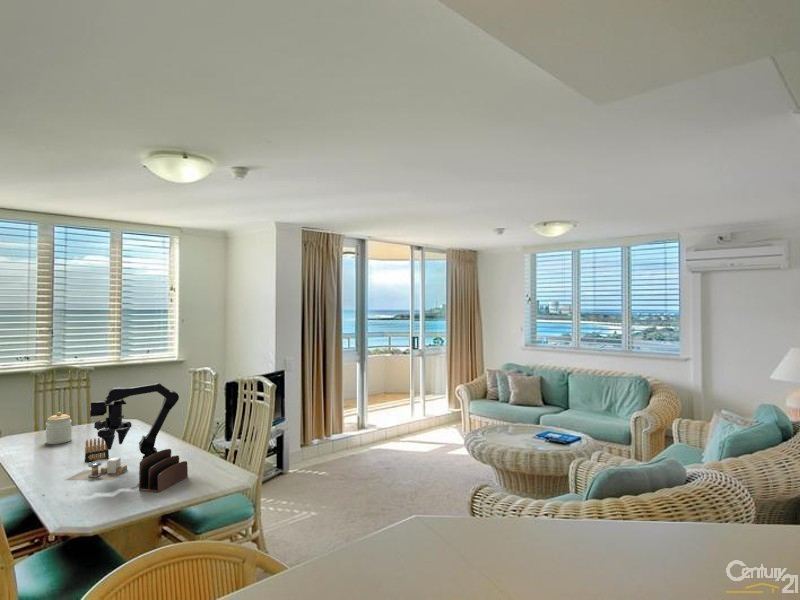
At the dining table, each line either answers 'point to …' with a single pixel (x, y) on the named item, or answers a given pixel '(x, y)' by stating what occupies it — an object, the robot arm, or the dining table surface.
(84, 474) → the board
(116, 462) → the white block
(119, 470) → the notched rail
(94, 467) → the bobbin
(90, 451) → the ammunition clip
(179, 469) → the letter holder
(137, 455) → the dining table surface
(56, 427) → the jar
